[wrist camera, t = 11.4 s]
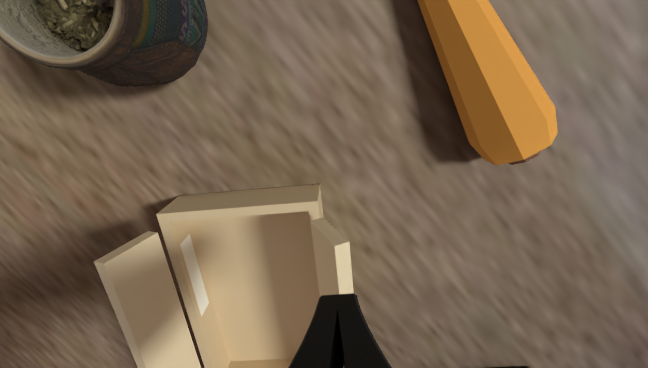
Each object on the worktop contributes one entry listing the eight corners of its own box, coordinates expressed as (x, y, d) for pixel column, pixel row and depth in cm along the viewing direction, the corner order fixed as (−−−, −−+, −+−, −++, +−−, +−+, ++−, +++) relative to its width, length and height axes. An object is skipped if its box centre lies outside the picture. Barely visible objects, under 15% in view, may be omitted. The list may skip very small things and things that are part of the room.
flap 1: (103, 263, 15) (93, 261, 16) (179, 451, 20) (170, 446, 21) (157, 232, 18) (148, 230, 18) (212, 404, 23) (204, 400, 23)
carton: (319, 183, 21) (317, 201, 18) (339, 357, 26) (339, 391, 24) (178, 195, 22) (155, 214, 19) (225, 362, 27) (213, 396, 24)
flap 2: (354, 444, 20) (365, 437, 20) (334, 246, 15) (349, 241, 15) (333, 399, 22) (342, 394, 23) (310, 220, 17) (322, 217, 18)
